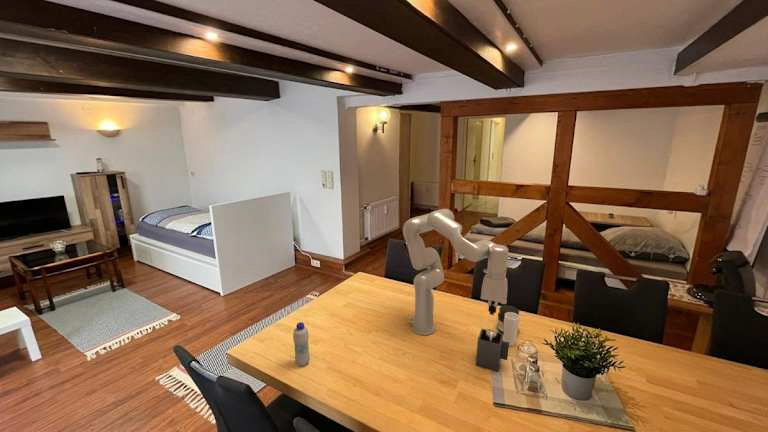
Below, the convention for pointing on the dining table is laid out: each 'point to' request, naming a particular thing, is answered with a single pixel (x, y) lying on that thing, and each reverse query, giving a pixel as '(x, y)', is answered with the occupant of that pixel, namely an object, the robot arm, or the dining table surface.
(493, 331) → the plunger
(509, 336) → the drinking glass
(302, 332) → the bottle
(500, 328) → the supplement container
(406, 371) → the dining table surface
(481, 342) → the block
